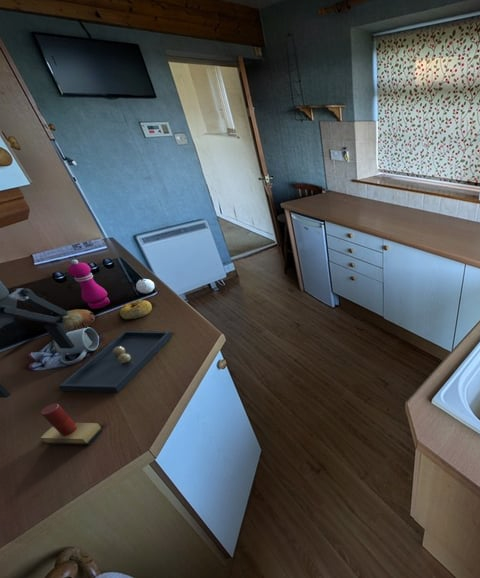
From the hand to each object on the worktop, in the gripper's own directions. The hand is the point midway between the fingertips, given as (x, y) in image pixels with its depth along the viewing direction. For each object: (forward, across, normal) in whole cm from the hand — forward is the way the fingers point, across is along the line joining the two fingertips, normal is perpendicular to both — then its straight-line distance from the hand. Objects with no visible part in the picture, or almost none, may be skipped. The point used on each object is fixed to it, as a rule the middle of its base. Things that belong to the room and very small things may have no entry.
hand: (38, 369), depth 62 cm
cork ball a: (+18, +24, +10) cm, 32 cm away
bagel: (+20, +47, +22) cm, 56 cm away
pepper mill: (+20, +53, +41) cm, 69 cm away
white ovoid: (+17, +62, +28) cm, 70 cm away
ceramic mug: (+20, +25, +24) cm, 40 cm away
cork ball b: (+18, +21, +6) cm, 28 cm away
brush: (+20, -3, 0) cm, 21 cm away
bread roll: (+20, +40, +38) cm, 58 cm away
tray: (+20, +22, +8) cm, 31 cm away
